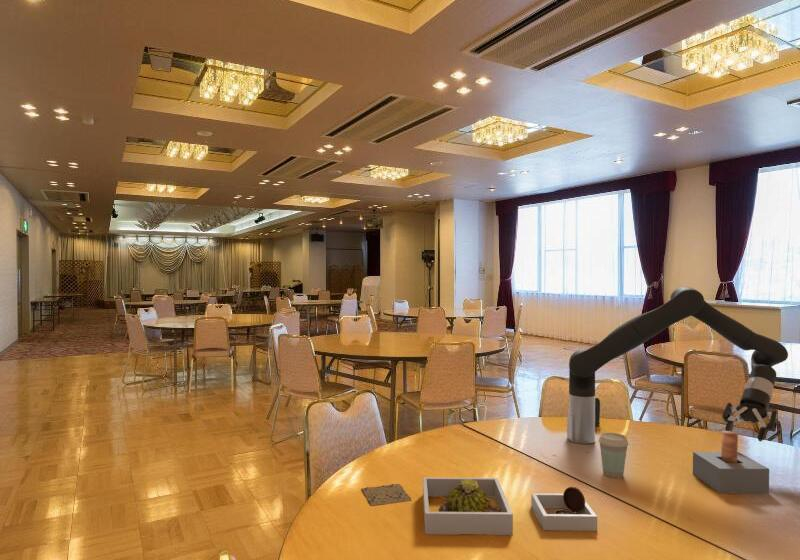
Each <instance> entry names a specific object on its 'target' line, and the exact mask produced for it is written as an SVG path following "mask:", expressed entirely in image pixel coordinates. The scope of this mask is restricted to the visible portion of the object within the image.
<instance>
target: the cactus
mask: <svg viewBox="0 0 800 560" xmlns="http://www.w3.org/2000/svg"><path fill="white" fill-rule="evenodd" d="M464 478H465V480H464V479H462V480H461V481H460V483H461V484H460V485H459V486H458V485H457V487H453V490H451V491H450V492H449V493H448V496H446V497H445V502H442V503H441V505H440V507H439V508H438V512H501V511H500V509H499V508H498V506H495V505H493V504H491V501H490V500H489V499H488V498H489V497H488V496H486V494H485V493H484V492H483V490H481V489H479V485H478V483H477V481H475V480H474V479H472V480H471V479H466V478H467V477H464Z"/></svg>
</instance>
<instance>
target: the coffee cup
mask: <svg viewBox="0 0 800 560" xmlns="http://www.w3.org/2000/svg"><path fill="white" fill-rule="evenodd" d="M598 442H599V449H600V456H601V457H600V458H601V466H602V474H603V475H604V476H605V477H608V478H613V479H621V478H623V477H624V473H625V465H626V458H627V450H628V446H629V441H628V439H627V437H626V436H625V435H623V434H621V433H617V432H603V433H601V434H600V436H599V438H598Z"/></svg>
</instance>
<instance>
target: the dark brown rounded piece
mask: <svg viewBox="0 0 800 560" xmlns="http://www.w3.org/2000/svg"><path fill="white" fill-rule="evenodd" d="M563 494H564V495H563V499H564V503H565V505H566V507H567V508H566V509H564V508H559V509H556V510H555V511H553V512H552V513H551V514H576V513H580V511H582V510H583V509H584V506H585V501H586V500H585V497H584V494H583V492H582V491H581V490H580V489H579V487H578V488H577V487H576V486H571V487H570V486H569V487H567V488H566V489H564V492H563Z"/></svg>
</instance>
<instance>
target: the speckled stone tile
mask: <svg viewBox="0 0 800 560" xmlns="http://www.w3.org/2000/svg"><path fill="white" fill-rule="evenodd" d="M360 490H361V492H362V493H363V496H364V498H365V499H366V501H367V503H368V505H369V506H370V507H376V506H384V505H391V504H396V503H397V504H398V503H404V502H405V503H406V502H412V501H413V500H412V497H411V496H410V495H409V494H408V493H407V492H406V491H405V489H404V488H403V486H402V485H401V484H400V483H392V484H387V485H380V486H372V487H371V486H370V487H369V486H367V487H362V488H360Z"/></svg>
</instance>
